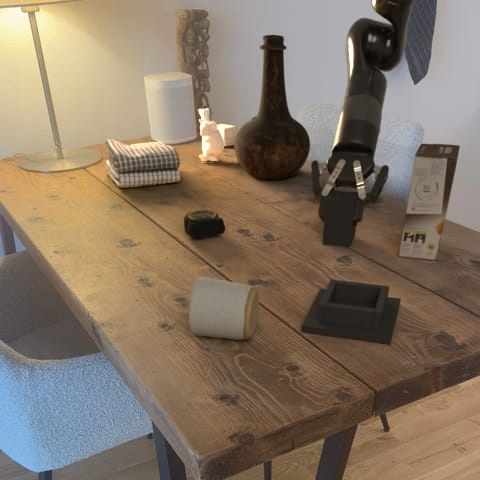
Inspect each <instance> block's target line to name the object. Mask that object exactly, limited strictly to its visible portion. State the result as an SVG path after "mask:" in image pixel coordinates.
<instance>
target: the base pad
mask: <svg viewBox="0 0 480 480" xmlns="http://www.w3.org/2000/svg"><path fill="white" fill-rule="evenodd" d="M389 291H390V286H389V285H381V284H373V283H367V282H366V283H364V282H356V281H348V280H340V279H332V278H330V280H329V281H328V284H327V286H326V288H319V290H318V292H317V293H316V296H315V298H314V300H313V301H312V304H311V306H310V308H309V310H308V312H307V314H306V317H305V318H304V320H303V322H302V323H301V324H302V325H301V329H300V331H301V333H305V334H313V335H320V336H326V337H334V338H341V339H346V340H347V339H349V340H355V341H361V342H368V343H376V344H381V345H382V344H383V345H387V346H388V345H389V346H391V344H392V339H393V336H394V331H395V327H396V323H397V318H398V315H399V310H400V306H401V301H402V298H399V297H392V296H391V297H390V296H389Z"/></svg>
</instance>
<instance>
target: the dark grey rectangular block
mask: <svg viewBox="0 0 480 480" xmlns="http://www.w3.org/2000/svg"><path fill="white" fill-rule="evenodd" d="M358 198H359V196H358V192H357V191H349V190H347V191H346V190H337V191H336V190H331V192H330V193H329V195H328V196H327V198H326V203H325V217H324V222H323V231H322V245H325V246H335V247H344V248H346V247H347V248H351V246H352V243H353V242H354V240H355V237H356V230H357V229H356V228H357V225H353V217H354V212H355V207H356V202H357V200H358Z"/></svg>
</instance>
